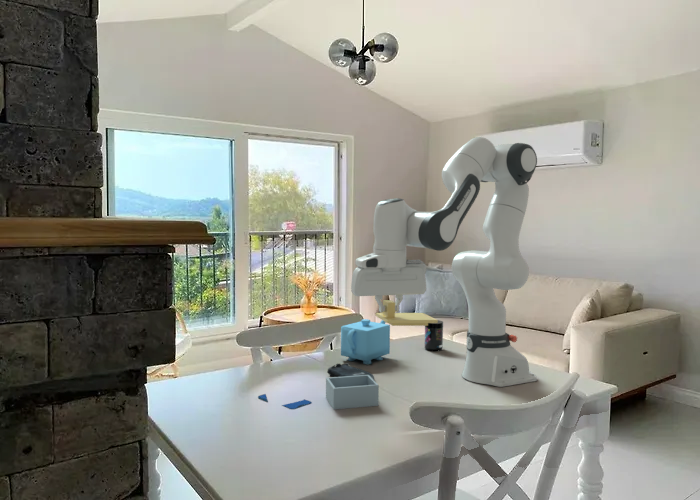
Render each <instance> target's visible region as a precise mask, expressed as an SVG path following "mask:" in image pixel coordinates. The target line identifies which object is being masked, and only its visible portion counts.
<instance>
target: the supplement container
mask: <svg viewBox="0 0 700 500" xmlns="http://www.w3.org/2000/svg"><path fill="white" fill-rule="evenodd" d="M437 320H438V323H428V326H424V349H425V351H429V352H440V351H442V350H443V348H444V347H443V342H444V340H443V339H444V321H443V320H439V319H437Z"/></svg>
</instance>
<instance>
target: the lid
mask: <svg viewBox="0 0 700 500" xmlns="http://www.w3.org/2000/svg"><path fill="white" fill-rule="evenodd" d="M382 300H383V301H382V304H383V305H386V312H375V316H376V317H377V318H378V319H380V320H381V321H382V320H383V321H385V322H386V323H385V324H388V325H390V326H392V327H393V326H397V327H398V326H399V327H402V326H403V327H406V326H408V327H409V326H410V327H411V326H415V327H417V326H418V327H419V326H421V327H423V326H424V327H425V326H428V323H438V320H439V319H436V318H434V317H432V316H430V315H428V314H426V313H425V312H395V302H396V301H392V300H390V299H389V300H388V299H387V300H385V299H382Z"/></svg>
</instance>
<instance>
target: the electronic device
mask: <svg viewBox="0 0 700 500" xmlns="http://www.w3.org/2000/svg"><path fill="white" fill-rule="evenodd" d="M326 373H328V375H329V377H330V376H331V377H345V376H359V375H369V376H370V377H371V378H372V379H373V380H374V381H375V375H373V374H372V373H371V372H368V371H367V370H363V369H361V368H359V367H358V368H357V367H354V366H351V365H349V363H348V362H346V363H342V364H341V363H336V364H334V365H332V366H329V367H328V368H327V372H326Z"/></svg>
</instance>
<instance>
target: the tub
mask: <svg viewBox="0 0 700 500" xmlns="http://www.w3.org/2000/svg"><path fill="white" fill-rule="evenodd" d="M379 387H380V386H379V384H378V382H376V380H375V379H374V380H373V379H372V378H371V377H370V376H369V375H359V376H345V377H333V376H331V377H325V398H326V400H327V401H328V403H329V405H330V407H331V408H332V410H334V411H335V410H344V409H356V408H367V407H377V406H379V397H380V396H379V395H380V393H379V391H380V390H379Z"/></svg>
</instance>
